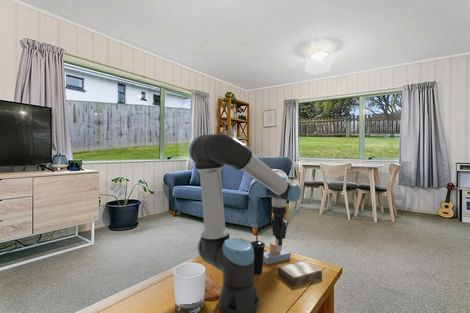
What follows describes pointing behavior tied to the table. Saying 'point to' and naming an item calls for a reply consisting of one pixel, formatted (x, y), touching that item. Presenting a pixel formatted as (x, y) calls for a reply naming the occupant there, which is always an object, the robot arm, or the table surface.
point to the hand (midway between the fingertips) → (278, 250)
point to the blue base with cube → (275, 255)
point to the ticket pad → (299, 273)
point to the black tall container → (258, 255)
